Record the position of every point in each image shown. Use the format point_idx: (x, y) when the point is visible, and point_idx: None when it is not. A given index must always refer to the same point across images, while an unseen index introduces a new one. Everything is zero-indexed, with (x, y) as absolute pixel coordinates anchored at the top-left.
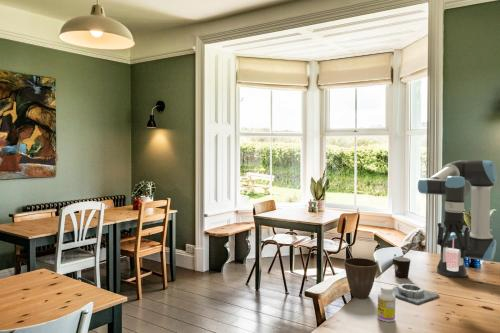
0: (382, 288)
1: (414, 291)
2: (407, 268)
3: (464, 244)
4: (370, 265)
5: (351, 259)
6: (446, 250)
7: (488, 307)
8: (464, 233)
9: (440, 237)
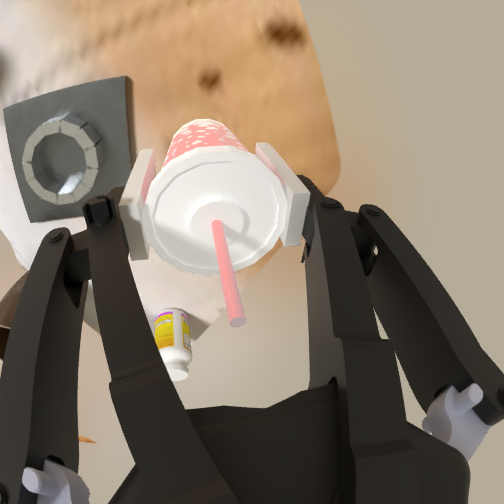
0: (174, 380)
1: (91, 186)
2: None
3: (351, 236)
4: (4, 313)
5: None
6: (183, 266)
7: (287, 27)
8: (415, 388)
9: (76, 338)
